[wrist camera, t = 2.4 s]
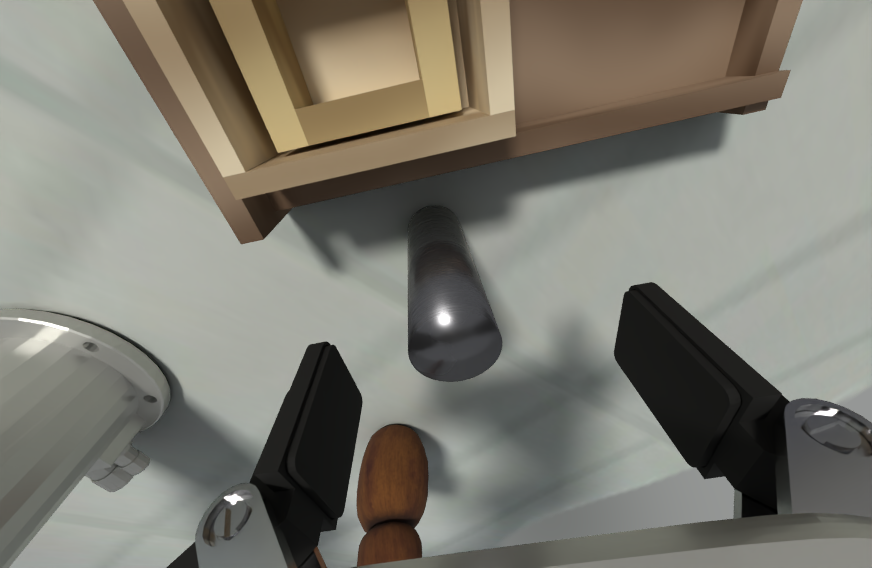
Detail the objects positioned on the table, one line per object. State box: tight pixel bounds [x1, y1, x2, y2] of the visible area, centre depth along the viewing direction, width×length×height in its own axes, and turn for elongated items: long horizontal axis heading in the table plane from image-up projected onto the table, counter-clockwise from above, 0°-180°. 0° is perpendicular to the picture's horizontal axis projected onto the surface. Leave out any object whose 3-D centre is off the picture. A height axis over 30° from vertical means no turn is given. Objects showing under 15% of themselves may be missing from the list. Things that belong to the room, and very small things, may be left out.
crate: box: [123, 0, 516, 200], centre depth 10 cm, size 9×10×5 cm
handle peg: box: [408, 206, 502, 382], centre depth 15 cm, size 3×3×10 cm
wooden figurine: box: [357, 424, 428, 567], centre depth 24 cm, size 7×6×15 cm
